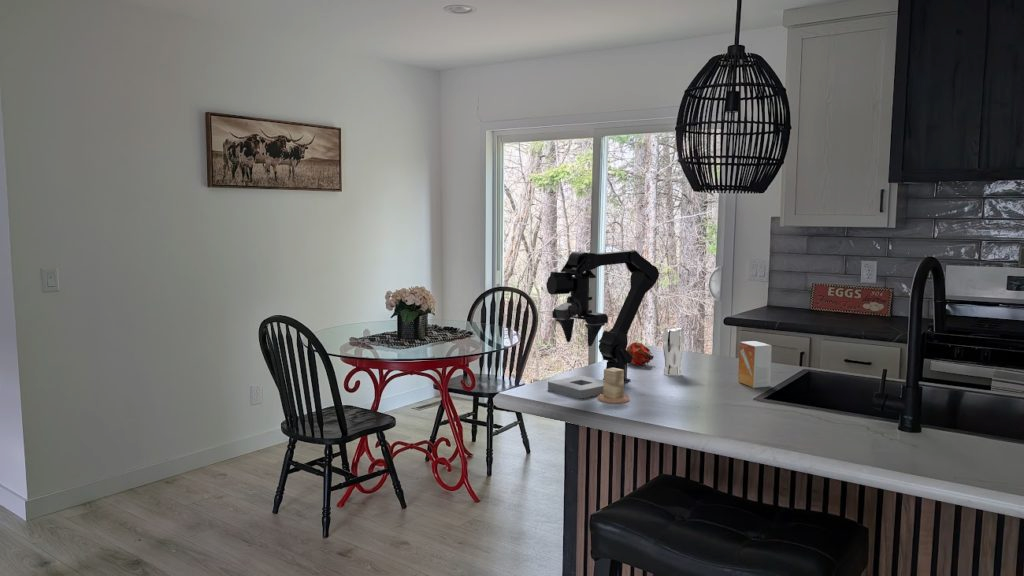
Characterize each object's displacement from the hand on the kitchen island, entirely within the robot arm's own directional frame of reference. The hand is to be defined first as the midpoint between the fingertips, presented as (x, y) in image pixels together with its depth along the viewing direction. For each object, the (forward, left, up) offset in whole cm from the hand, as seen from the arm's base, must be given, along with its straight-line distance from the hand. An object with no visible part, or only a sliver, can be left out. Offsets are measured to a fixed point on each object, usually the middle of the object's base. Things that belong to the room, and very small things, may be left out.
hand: (579, 343), depth 223 cm
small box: (-44, +33, -13) cm, 57 cm away
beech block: (+4, +18, -12) cm, 22 cm away
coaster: (+4, +18, -13) cm, 23 cm away
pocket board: (+4, +5, -13) cm, 14 cm away
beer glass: (-36, +8, -13) cm, 39 cm away
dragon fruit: (-39, -9, -13) cm, 42 cm away
